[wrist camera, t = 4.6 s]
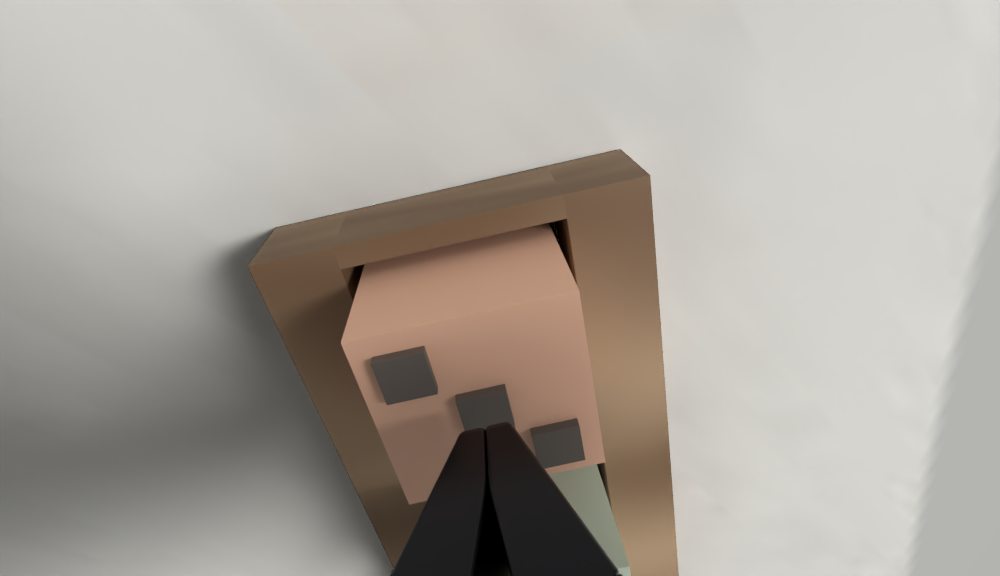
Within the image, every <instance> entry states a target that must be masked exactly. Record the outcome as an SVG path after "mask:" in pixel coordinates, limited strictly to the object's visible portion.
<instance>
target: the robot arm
mask: <svg viewBox="0 0 1000 576" xmlns="http://www.w3.org/2000/svg"><path fill="white" fill-rule="evenodd" d="M390 576H623V575H622V574H619V571H618V569H617V567H616V566H615V565H614V563H613V562H612V560H611V559H610V558H609V556H608V555H607V554H606V552H605V551H604V549H603V548H602V547H601V545H600V544H599V543H598V541H597V540H596V538H595V537H594V536H593V534H592V533H591V532H590V530H589V529H588V528H587V526H586V525H585V523H584V522H583V521H582V519H581V518H580V517H579V515H578V514H577V512H576V511H575V510H574V508H573V507H572V506H571V504H570V503H569V502H568V500H567V499H566V497H565V496H564V495H563V493H562V492H561V491H560V489H559V488H558V486H557V485H556V484H555V482H554V481H553V480H552V478H551V477H550V475H549V474H548V473H547V471H546V470H545V469H544V467H543V466H542V465H541V463H540V462H539V460H538V459H537V458H536V456H535V455H534V454H533V452H532V451H531V449H530V448H529V447H528V445H527V444H526V443H525V441H524V440H523V439H522V437H521V436H520V434H519V433H518V432H517V430H516V429H515V428H514V426H513V425H512V424H511V423H510V422H503V423H499V424H494V425H490V426H488V427H487V429H486V430H485V429H484V428H476V429H471V430H467V431H463V432H461V433H460V434H459V436H458V438H457V440H456V442H455V444H454V446H453V448H452V450H451V452H450V454H449V456H448V458H447V460H446V463H445V465H444V467H443V469H442V471H441V473H440V475H439V477H438V479H437V481H436V483H435V485H434V487H433V489H432V491H431V493H430V495H429V497H428V499H427V501H426V503H425V505H424V508H423V510H422V512H421V514H420V516H419V518H418V520H417V522H416V524H415V526H414V528H413V530H412V532H411V534H410V536H409V538H408V540H407V542H406V544H405V546H404V548H403V550H402V552H401V555H400V557H399V559H398V561H397V563H396V565H395V567H394V569H393V571H392V573H391V575H390Z"/></svg>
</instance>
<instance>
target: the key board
mask: <svg viewBox="0 0 1000 576" xmlns="http://www.w3.org/2000/svg"><path fill="white" fill-rule="evenodd" d="M554 221H556V226H557V232H558V239H559V245H560V249H561V251H562V253H563V255H564V258H565V260H566V262H567V264H568V266H569V269H570V271H571V273H572V275H573V278H574V280H575V282H576V284H577V286H578V289H579V292H580V299H581V305H582V312H583V318H584V325H585V331H586V338H587V344H588V351H589V358H590V364H591V371H592V377H593V384H594V390H595V397H596V403H597V410H598V416H599V423H600V429H601V436H602V442H603V449H604V455H605V462H604V463H600V464H597V467H598V470H599V473H600V476H601V479H602V482H603V485H604V488H605V491H606V495H607V498H608V501H609V504H610V507H611V510H612V513H613V516H614V519H615V522H616V526H617V529H618V532H619V535H620V538H621V541H622V544H623V547H624V550H625V554H626V557H627V560H628V563H629V566H630V573H631V576H679V575H678V561H677V547H676V533H675V519H674V505H673V491H672V477H671V463H670V449H669V435H668V421H667V406H666V392H665V378H664V364H663V350H662V336H661V322H660V308H659V294H658V280H657V266H656V252H655V238H654V224H653V210H652V196H651V182H650V175H649V174H648V173H647V172H646V171H645V170H644V169H643V168H641V167H640V166H639V165H638V164H637V163H636V162H635V161H633V160H632V159H631V158H630V157H629V156H628V155H627V154H625V153H624V152H623V151H622V150H621V149H620V150H615V151H611V152H607V153H602V154H598V155H594V156H589V157H585V158H580V159H576V160H572V161H567V162H563V163H558V164H554V165H550V166H545V167H541V168H536V169H532V170H528V171H523V172H519V173H514V174H510V175H506V176H501V177H497V178H492V179H488V180H484V181H479V182H475V183H470V184H466V185H462V186H457V187H453V188H448V189H444V190H440V191H435V192H431V193H426V194H422V195H418V196H413V197H409V198H404V199H400V200H396V201H391V202H387V203H382V204H378V205H374V206H369V207H365V208H360V209H356V210H352V211H347V212H343V213H338V214H334V215H330V216H325V217H321V218H316V219H312V220H308V221H303V222H299V223H294V224H290V225H286V226H281V227H277V228H275V229H274V231H273V232H272V233H271V235H270V236H269V237H268V239H267V240H266V241H265V243H264V244H263V245H262V247H261V248H260V250H259V251H258V252H257V254H256V255H255V256H254V258H253V259H252V260H251V262H250V263H249V264H248V266H247V267H248V269H249V271H250V273H251V275H252V277H253V279H254V281H255V283H256V285H257V288H258V290H259V292H260V294H261V296H262V298H263V300H264V302H265V304H266V306H267V308H268V310H269V312H270V314H271V316H272V318H273V320H274V323H275V325H276V327H277V329H278V331H279V333H280V335H281V337H282V339H283V341H284V343H285V345H286V347H287V349H288V351H289V353H290V355H291V358H292V360H293V362H294V364H295V366H296V368H297V370H298V372H299V374H300V376H301V378H302V380H303V382H304V384H305V386H306V388H307V390H308V393H309V395H310V397H311V399H312V401H313V403H314V405H315V407H316V409H317V411H318V413H319V415H320V417H321V419H322V421H323V423H324V425H325V428H326V430H327V432H328V434H329V436H330V438H331V440H332V442H333V444H334V446H335V448H336V450H337V452H338V454H339V456H340V458H341V461H342V463H343V465H344V467H345V469H346V471H347V473H348V475H349V477H350V479H351V481H352V483H353V485H354V487H355V489H356V491H357V493H358V496H359V498H360V500H361V502H362V504H363V506H364V508H365V510H366V512H367V514H368V516H369V518H370V520H371V522H372V524H373V526H374V528H375V531H376V533H377V535H378V537H379V539H380V541H381V543H382V545H383V547H384V549H385V551H386V553H387V555H388V557H389V559H390V561H391V563H392V566H393V568H394V567H395V565H396V563H397V561H398V559H399V557H400V555H401V552H402V550H403V548H404V546H405V544H406V542H407V540H408V538H409V536H410V534H411V532H412V530H413V528H414V526H415V524H416V522H417V520H418V518H419V516H420V514H421V512H422V510H423V508H424V505H425V503H426V501H423V502H419V503H414V504H410V505H409V503H408V501H407V498H406V496H405V494H404V491H403V489H402V487H401V484H400V482H399V480H398V477H397V475H396V473H395V470H394V468H393V465H392V463H391V461H390V458H389V456H388V454H387V451H386V449H385V447H384V444H383V442H382V439H381V437H380V435H379V432H378V430H377V428H376V425H375V423H374V421H373V418H372V416H371V414H370V411H369V409H368V406H367V404H366V402H365V399H364V397H363V395H362V392H361V390H360V388H359V385H358V383H357V381H356V378H355V376H354V373H353V371H352V369H351V366H350V364H349V362H348V359H347V357H346V355H345V352H344V350H343V348H342V345H341V340H342V337H343V334H344V330H345V327H346V324H347V320H348V317H349V314H350V311H351V307H352V304H353V301H354V298H355V294H356V291H357V288H358V284H359V281H360V278H361V275H362V271H363V268H364V265H365V264H367V263H372V262H376V261H381V260H385V259H389V258H394V257H398V256H403V255H407V254H412V253H416V252H420V251H425V250H429V249H434V248H438V247H443V246H447V245H452V244H456V243H460V242H465V241H469V240H474V239H478V238H483V237H487V236H492V235H496V234H500V233H505V232H509V231H514V230H518V229H523V228H527V227H531V226H536V225H540V224H545V223H549V222H554Z"/></svg>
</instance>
